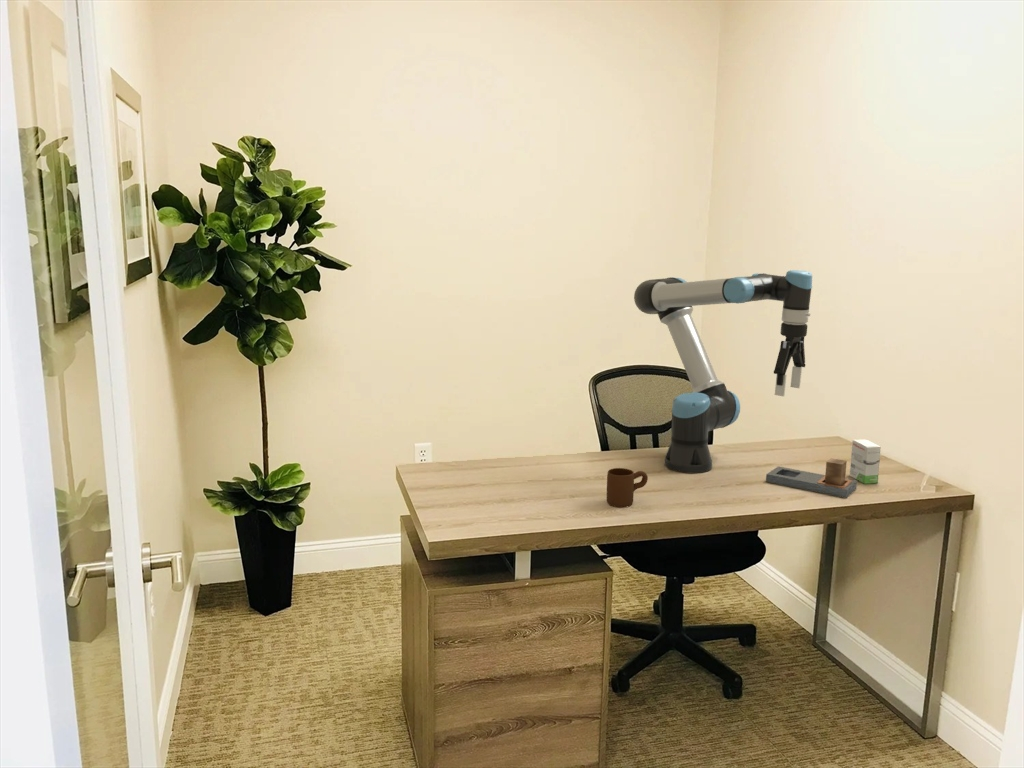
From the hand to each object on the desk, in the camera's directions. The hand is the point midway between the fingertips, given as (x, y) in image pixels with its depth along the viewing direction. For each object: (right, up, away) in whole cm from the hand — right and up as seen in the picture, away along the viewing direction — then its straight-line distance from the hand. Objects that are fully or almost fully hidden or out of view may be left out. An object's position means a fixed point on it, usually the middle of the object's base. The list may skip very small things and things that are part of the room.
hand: (787, 391), depth 260 cm
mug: (-51, -32, -17) cm, 63 cm away
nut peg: (+12, -29, -6) cm, 32 cm away
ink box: (+25, -27, +4) cm, 37 cm away
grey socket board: (+6, -28, -2) cm, 29 cm away
